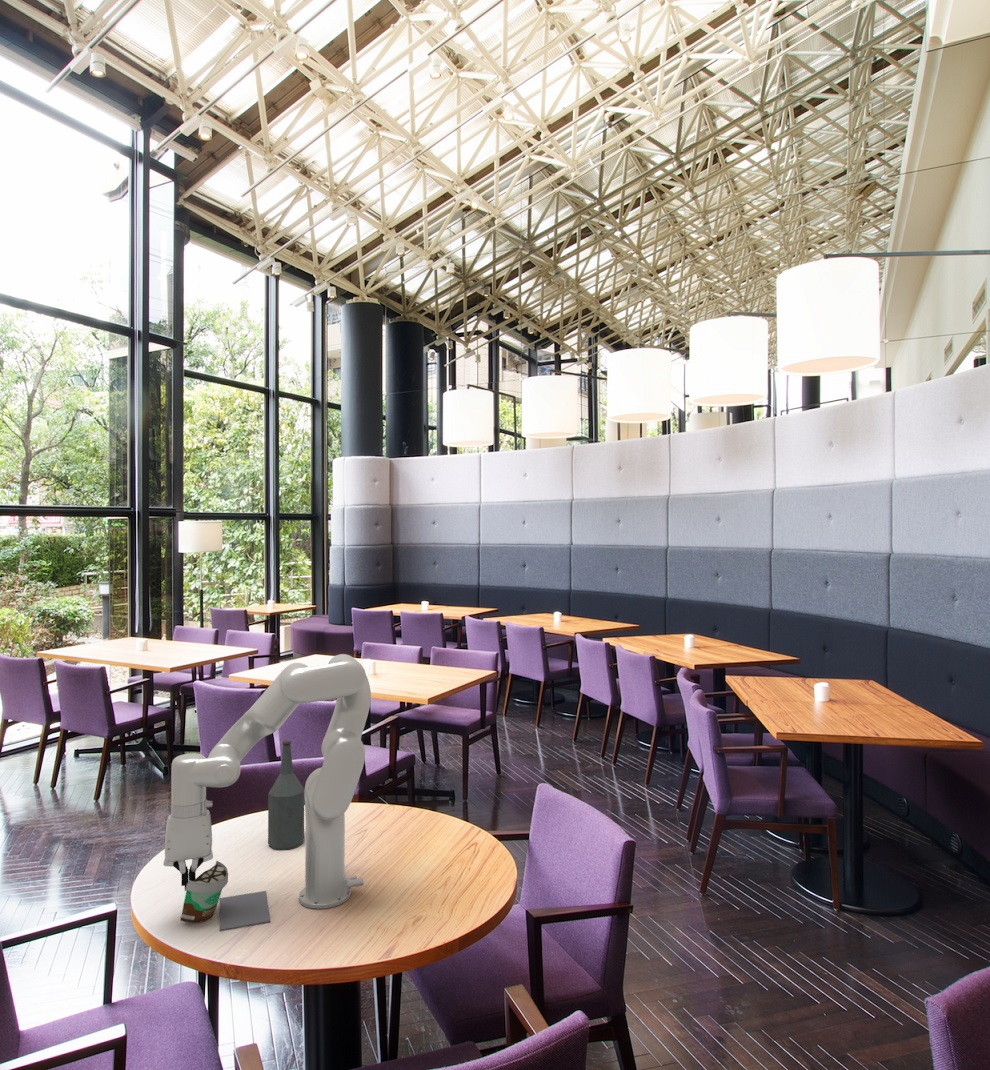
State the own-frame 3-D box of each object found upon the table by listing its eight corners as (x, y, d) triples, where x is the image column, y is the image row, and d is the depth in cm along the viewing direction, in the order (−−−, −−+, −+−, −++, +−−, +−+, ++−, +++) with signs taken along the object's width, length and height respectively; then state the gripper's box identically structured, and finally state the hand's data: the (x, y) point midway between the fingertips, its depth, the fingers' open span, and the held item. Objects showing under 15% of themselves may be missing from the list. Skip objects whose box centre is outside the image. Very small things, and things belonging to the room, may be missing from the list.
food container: (199, 933, 165) (210, 890, 165) (176, 923, 167) (187, 881, 167) (229, 908, 177) (240, 868, 177) (207, 899, 179) (217, 859, 179)
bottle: (262, 842, 216) (263, 740, 217) (293, 834, 223) (293, 734, 223) (278, 853, 208) (279, 747, 209) (309, 844, 215) (310, 741, 215)
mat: (266, 892, 185) (266, 890, 185) (270, 922, 170) (270, 920, 170) (219, 899, 181) (219, 898, 181) (219, 931, 166) (219, 929, 166)
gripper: (222, 799, 178) (222, 875, 177) (154, 807, 172) (154, 886, 172) (222, 809, 171) (222, 889, 170) (152, 818, 165) (151, 900, 165)
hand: (188, 887), depth 171 cm, fingers closed
